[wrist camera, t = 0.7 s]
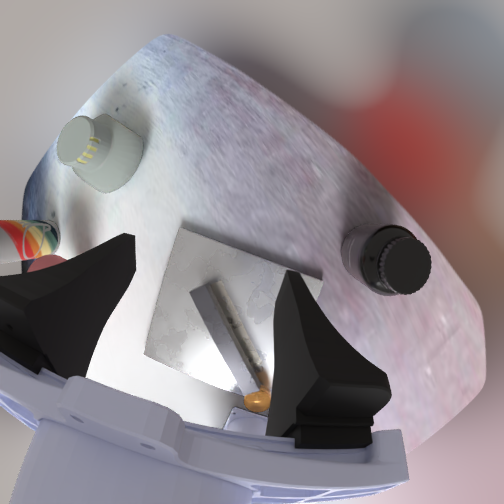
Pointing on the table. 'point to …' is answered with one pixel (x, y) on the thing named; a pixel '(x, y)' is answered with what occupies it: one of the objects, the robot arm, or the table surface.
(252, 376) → the swing arm
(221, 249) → the square grey plate
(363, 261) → the supplement bottle
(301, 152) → the table surface
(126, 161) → the air freshener
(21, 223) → the lotion bottle
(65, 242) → the table surface
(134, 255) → the robot arm
